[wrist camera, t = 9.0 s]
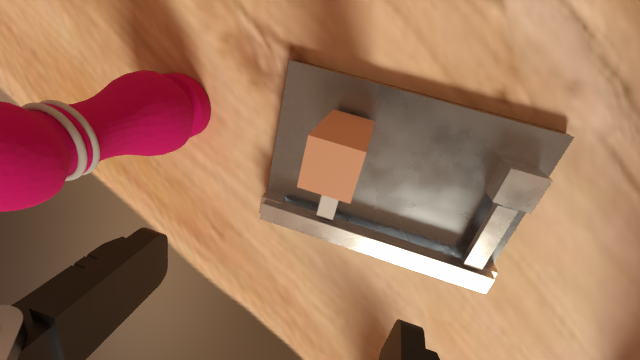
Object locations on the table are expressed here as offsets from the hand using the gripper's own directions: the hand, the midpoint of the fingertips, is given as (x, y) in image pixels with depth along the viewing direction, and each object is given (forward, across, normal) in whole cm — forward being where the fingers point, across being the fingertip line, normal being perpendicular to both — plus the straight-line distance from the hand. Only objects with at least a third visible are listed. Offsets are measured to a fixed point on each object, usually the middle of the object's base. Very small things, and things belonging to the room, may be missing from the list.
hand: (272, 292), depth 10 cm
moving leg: (+19, 0, +3) cm, 19 cm away
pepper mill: (+20, +17, +2) cm, 27 cm away
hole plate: (+20, -5, +3) cm, 21 cm away
